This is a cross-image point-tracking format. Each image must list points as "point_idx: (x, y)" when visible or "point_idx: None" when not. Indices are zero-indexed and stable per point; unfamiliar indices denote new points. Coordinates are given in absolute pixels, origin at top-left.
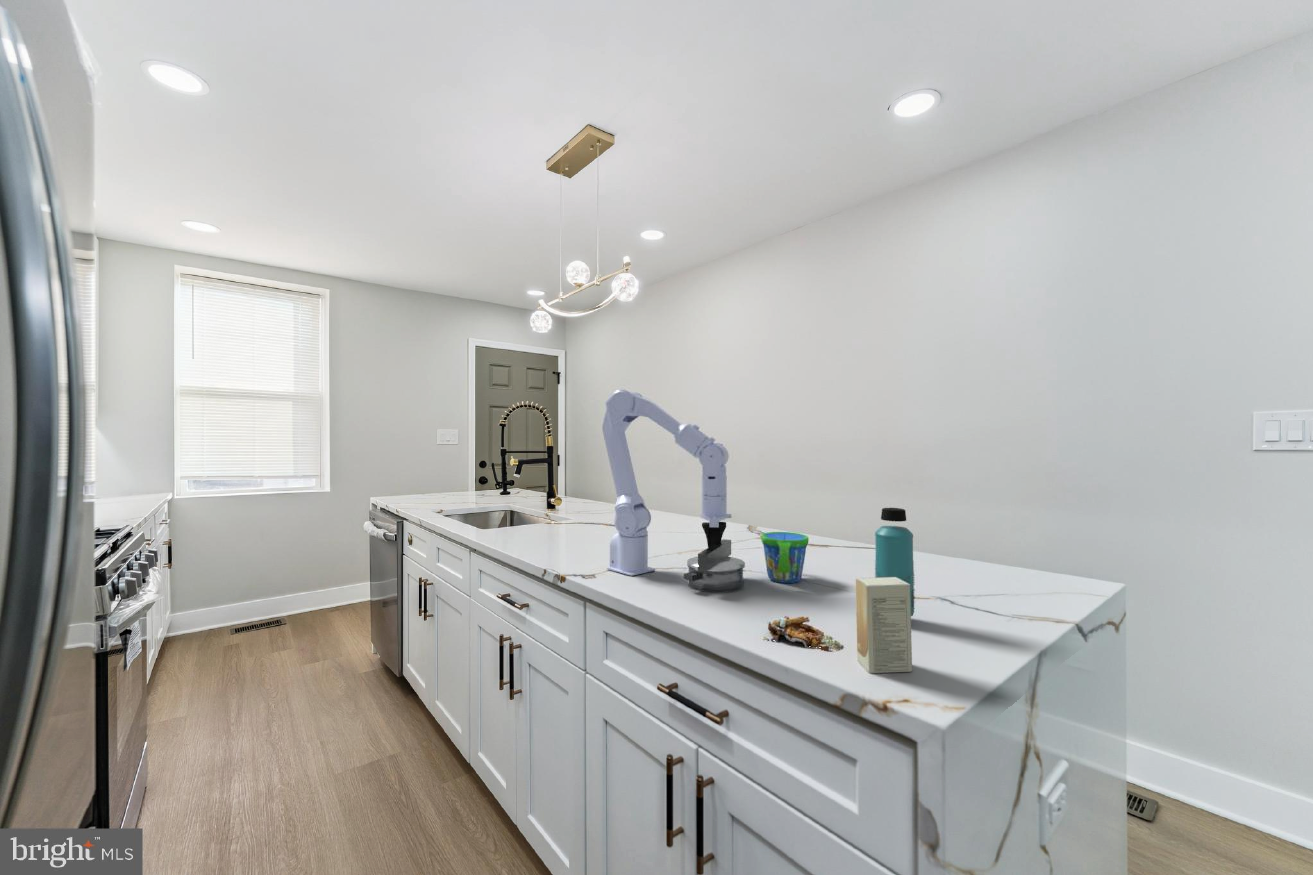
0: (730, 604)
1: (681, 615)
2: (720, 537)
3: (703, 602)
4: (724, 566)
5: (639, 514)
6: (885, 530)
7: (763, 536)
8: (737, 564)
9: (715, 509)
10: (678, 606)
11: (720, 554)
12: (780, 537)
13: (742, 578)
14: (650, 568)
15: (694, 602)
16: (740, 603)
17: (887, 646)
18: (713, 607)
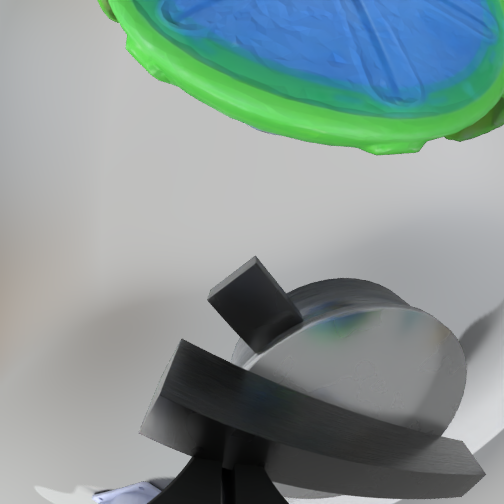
0: (496, 345)
1: (494, 425)
2: (277, 496)
3: (463, 401)
4: (439, 400)
5: None
6: None
7: (377, 131)
8: (433, 350)
9: None
10: (459, 438)
11: (374, 438)
12: None
13: (400, 299)
14: (143, 490)
15: (454, 418)
16: (500, 321)
17: None
18: (494, 380)
